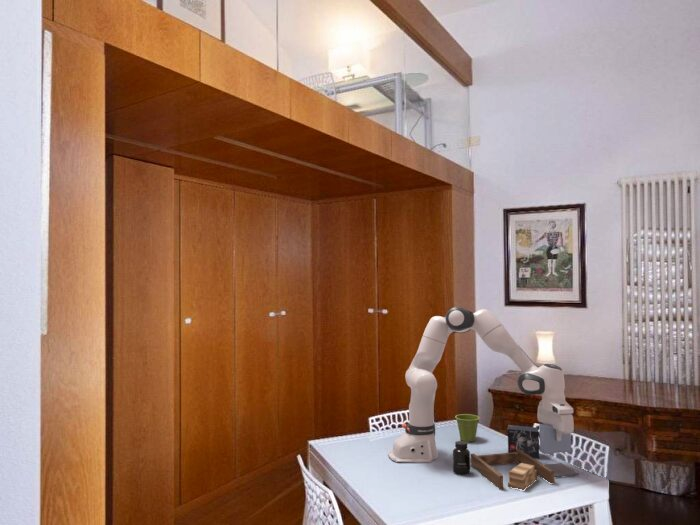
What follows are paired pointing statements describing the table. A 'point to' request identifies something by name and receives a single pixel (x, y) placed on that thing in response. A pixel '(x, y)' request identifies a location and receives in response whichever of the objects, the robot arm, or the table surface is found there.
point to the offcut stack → (522, 476)
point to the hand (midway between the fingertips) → (555, 438)
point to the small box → (523, 440)
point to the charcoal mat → (561, 470)
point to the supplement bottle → (461, 458)
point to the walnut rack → (495, 477)
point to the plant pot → (467, 426)
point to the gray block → (553, 440)
